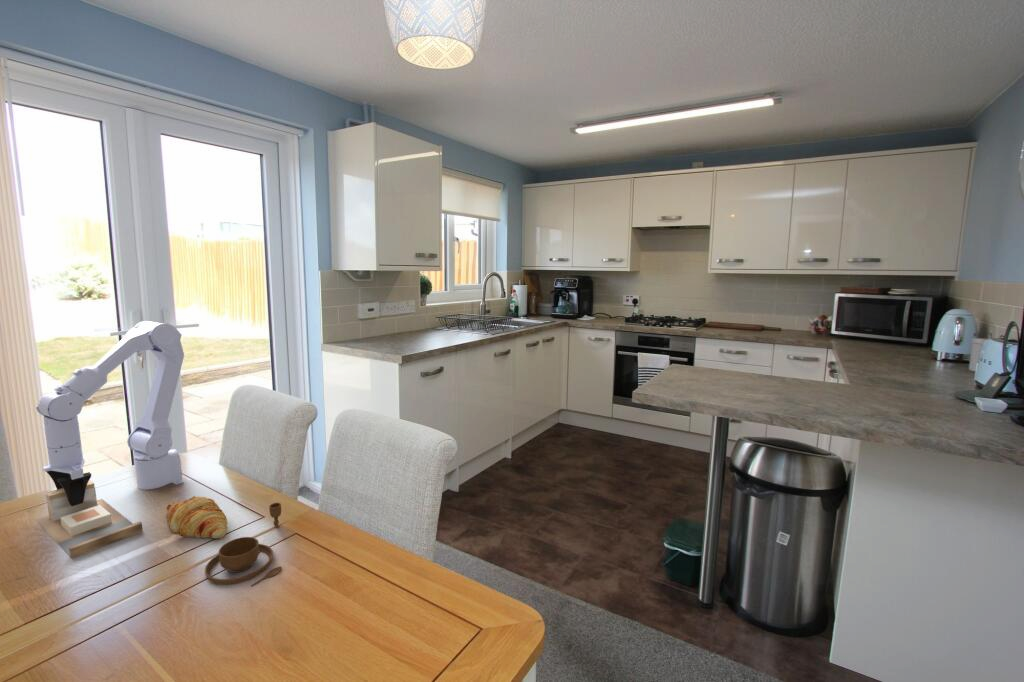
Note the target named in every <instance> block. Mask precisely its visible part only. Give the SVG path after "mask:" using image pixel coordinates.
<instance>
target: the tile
mask: <svg viewBox="0 0 1024 682" xmlns="http://www.w3.org/2000/svg"><path fill="white" fill-rule="evenodd" d="M60 520H61V526H62V527H63V528H64V529H65V530H66V531H67V532H68V533H69V534H70V535H71V536H73V535H76V534H79V533H82V532H85V531H88V530H90V529H93V528H96V527H99V526H102V525H105V524H108V523H111V522H112V519H111V514H110V513H109V512H108V511H107V510H106V509H104V508H103V507H102V506H101V505H98V506H94V507H91V508H88V509H85V510H82V511H79V512H76V513H73V514H69V515H66V516H63V517H60Z"/></svg>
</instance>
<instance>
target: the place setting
mask: <svg viewBox="0 0 1024 682" xmlns="http://www.w3.org/2000/svg"><path fill="white" fill-rule="evenodd" d="M268 508H269V516H270V517H271V518H273V519H274V520H273V525H274V527H273V529H278V528H280V525H279V523H280V521H279V517H280V516H281V514H282V503H281V502H274V503H273V502H272V503H271V504H270V505H269V506H268ZM260 552H261V553H263V554H265V555H266V556H267V557H268V561H267V562H266V563H265V564H264V565H263V566H261V567H260V568H259V569H256V570H254V571H253V572H250V573H248V574H245V575H243V576H238V577H234V578H217V577H214V576H213V577H212V576H211V575H212V574H211V573H212V570H213V569H214V567H215V566H216V565H217V564H219V563H220V566H221V567H222V568H223V569H224V570H225V571H230V572H231V573H238V572H243V571H245V570H247V569H248V568H250V567H251V566H252V565H253V564H254V563H255V562H256V561H257V560H258V558H259V555H260ZM273 559H274V550H273V549H272V548H271V547H270V546H268V545H267V544H263V543H262V544H261V543H260V542H259V540H258V539H257V538H256V537H252V536H242V537H238V538H234V539H232V540H229V541H227V542H226V543H224V544H223V545H222V546H221V547H219V550H218V554H216V555H214V556H213V557H212V558H211V559H210V560H209V561H207V564H206V565H205V568H204V573H205V577H206V578H207V579H208V580H209V581H210V582H211V583H214V584H217V585H223V586H225V585H226V586H227V585H235V584H238V583H243V582H246V581H249V580H252V579H254V578H255V577H257V576H259V575H261V574H262V573H263V572H265V571H266V570H267V569H268V568H269V567H270V565H271V564H272V562H273ZM282 569H283V568H282V566H277V567H274V568H272V569H270V570H269V571H268V572H266V574H265V575H264V576H263V577H261V578H260V579H259V580H257V581H256V582H254V583H253V584H251V585H250V587H251V588H253V587H254V586H256V585H259V583H261V582H262V581H264V580H265V579H268V578H272V577H274V576H276V575H277V574H279V572H281V570H282Z"/></svg>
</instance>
